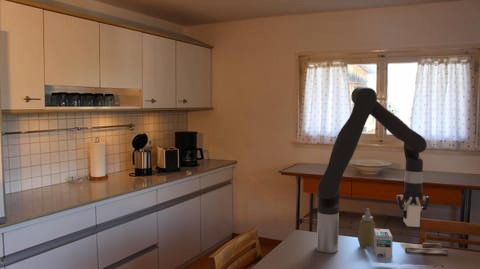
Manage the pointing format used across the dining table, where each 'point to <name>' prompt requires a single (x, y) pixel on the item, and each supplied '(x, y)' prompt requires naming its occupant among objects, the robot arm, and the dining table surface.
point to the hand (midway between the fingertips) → (411, 218)
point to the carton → (413, 215)
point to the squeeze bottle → (366, 230)
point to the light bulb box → (383, 243)
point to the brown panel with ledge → (424, 248)
